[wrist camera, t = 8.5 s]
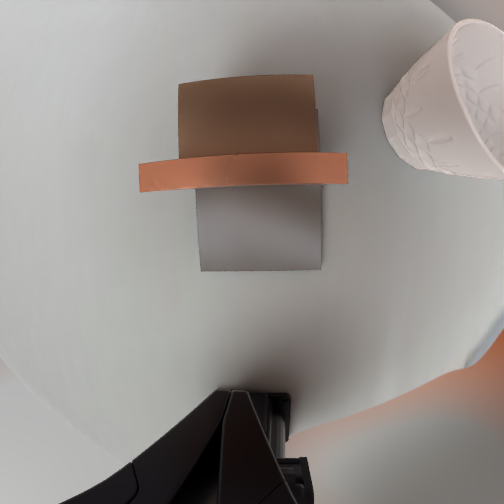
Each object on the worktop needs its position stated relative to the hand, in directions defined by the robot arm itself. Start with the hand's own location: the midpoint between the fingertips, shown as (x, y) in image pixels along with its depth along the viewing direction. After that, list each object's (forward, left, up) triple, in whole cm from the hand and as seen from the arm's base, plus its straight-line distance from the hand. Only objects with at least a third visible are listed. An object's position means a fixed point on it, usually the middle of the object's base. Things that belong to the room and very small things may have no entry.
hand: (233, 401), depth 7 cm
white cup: (+10, -12, -13) cm, 20 cm away
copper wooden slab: (+8, 0, -12) cm, 14 cm away
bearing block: (+5, 0, -13) cm, 14 cm away
